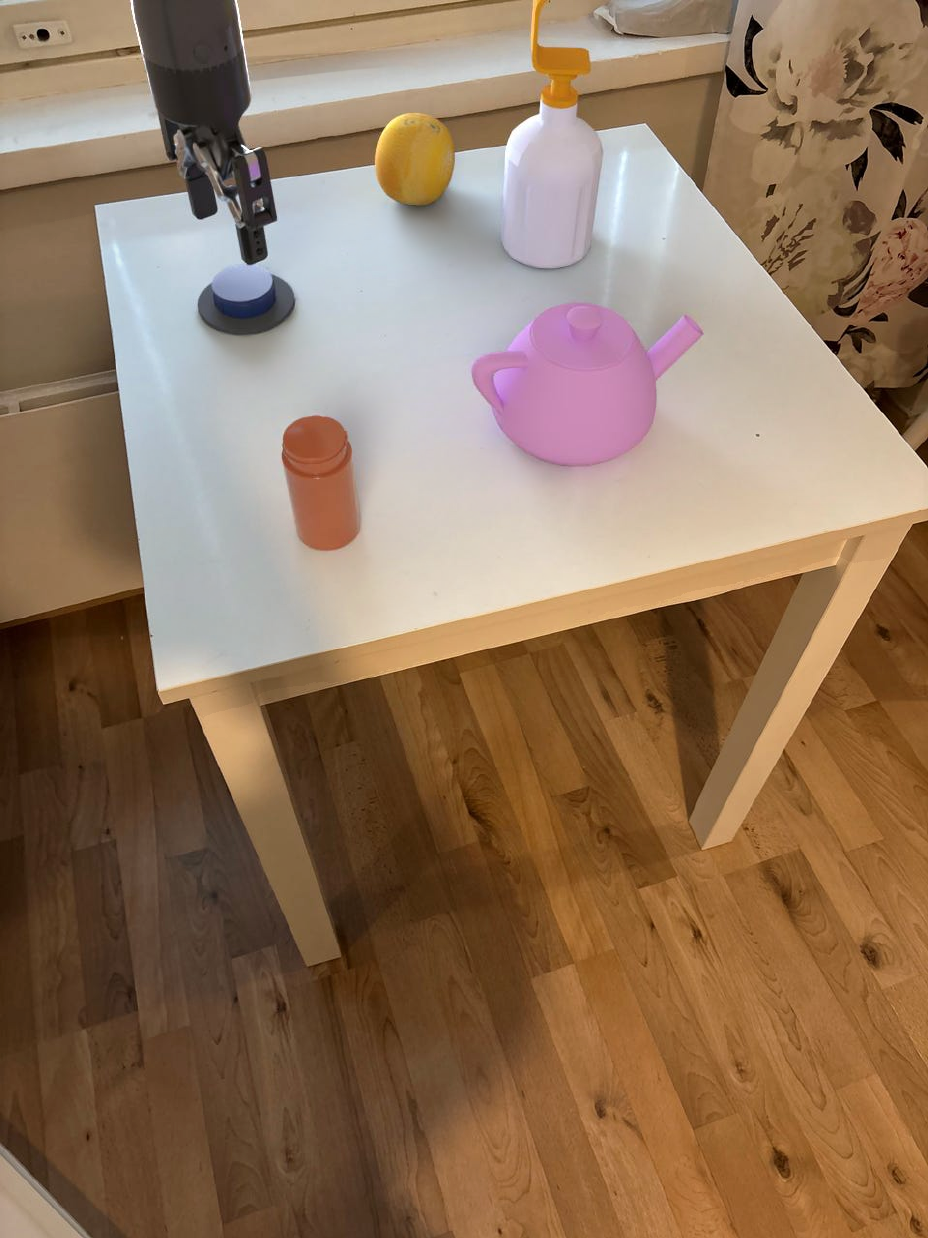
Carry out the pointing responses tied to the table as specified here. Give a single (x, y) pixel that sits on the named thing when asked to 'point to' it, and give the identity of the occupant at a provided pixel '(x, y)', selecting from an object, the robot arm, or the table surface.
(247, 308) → the lid
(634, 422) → the teapot
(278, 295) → the coaster
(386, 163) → the fruit
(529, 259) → the soap bottle
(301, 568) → the table surface
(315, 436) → the jar
